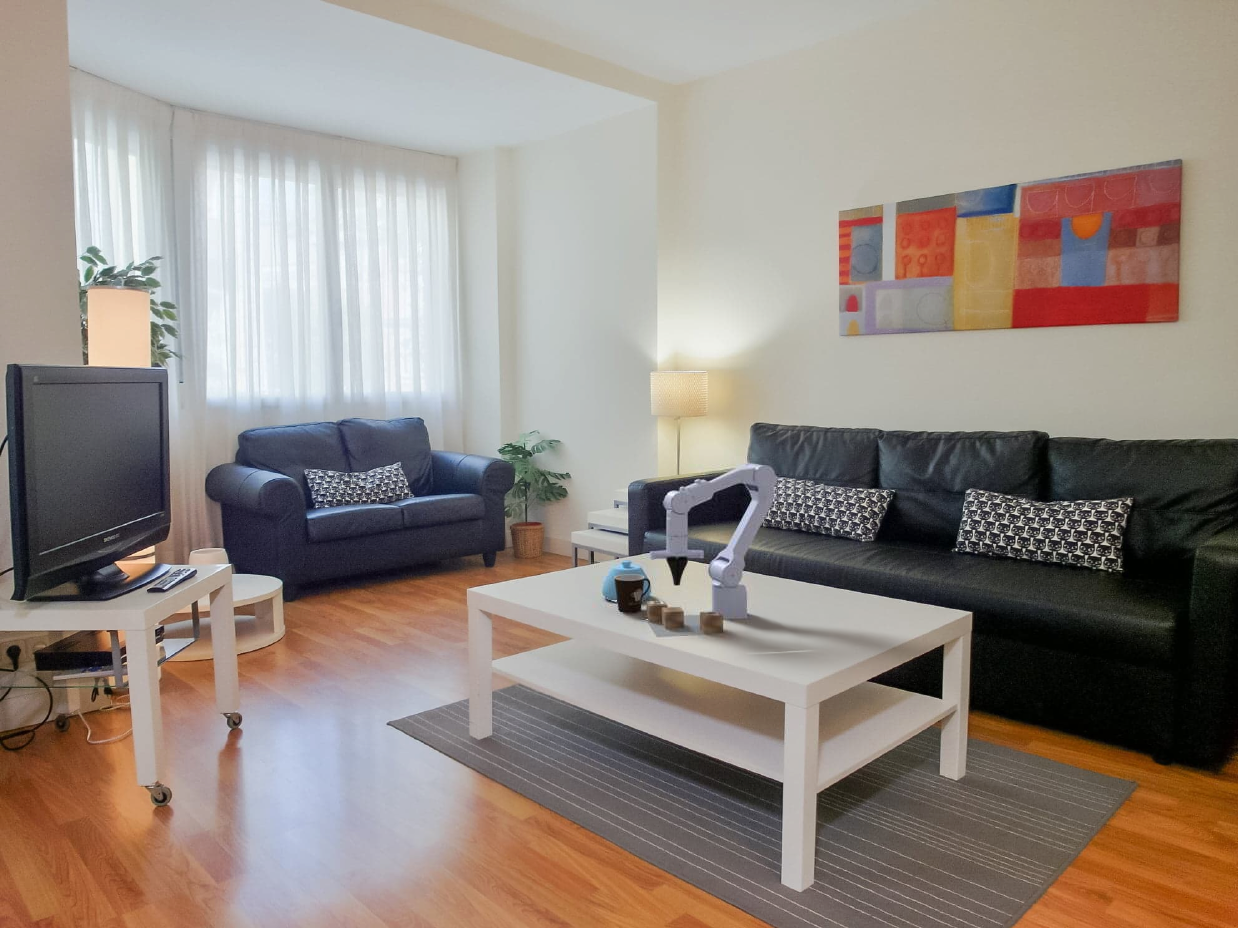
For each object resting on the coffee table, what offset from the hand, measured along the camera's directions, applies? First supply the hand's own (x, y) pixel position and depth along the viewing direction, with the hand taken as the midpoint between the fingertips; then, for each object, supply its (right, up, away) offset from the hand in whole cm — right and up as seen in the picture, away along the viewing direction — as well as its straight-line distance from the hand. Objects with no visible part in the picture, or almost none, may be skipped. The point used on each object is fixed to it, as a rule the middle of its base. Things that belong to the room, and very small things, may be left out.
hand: (676, 584), depth 242 cm
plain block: (-1, -10, -5) cm, 12 cm away
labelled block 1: (-5, -10, +2) cm, 11 cm away
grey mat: (+2, -11, -4) cm, 12 cm away
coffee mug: (-11, -10, +12) cm, 19 cm away
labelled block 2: (+8, -11, -11) cm, 17 cm away
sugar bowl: (-13, -8, +29) cm, 33 cm away
